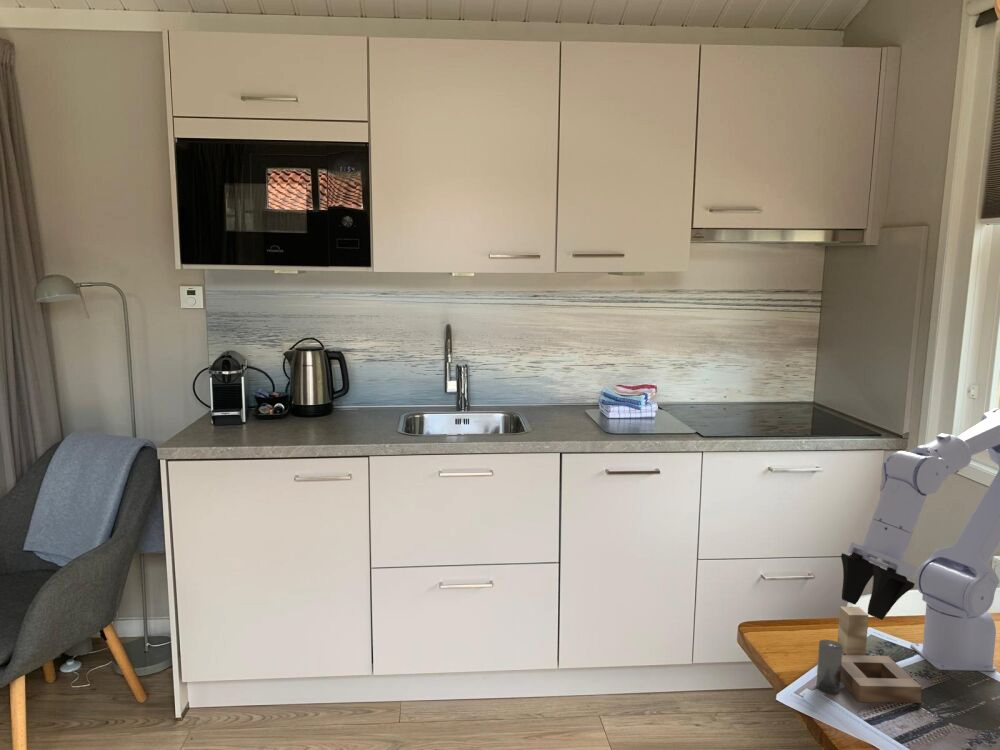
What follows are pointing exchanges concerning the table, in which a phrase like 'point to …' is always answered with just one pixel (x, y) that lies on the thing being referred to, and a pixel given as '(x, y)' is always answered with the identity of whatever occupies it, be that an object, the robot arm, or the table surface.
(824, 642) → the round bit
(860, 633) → the square bit
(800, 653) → the table surface
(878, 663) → the bore block
